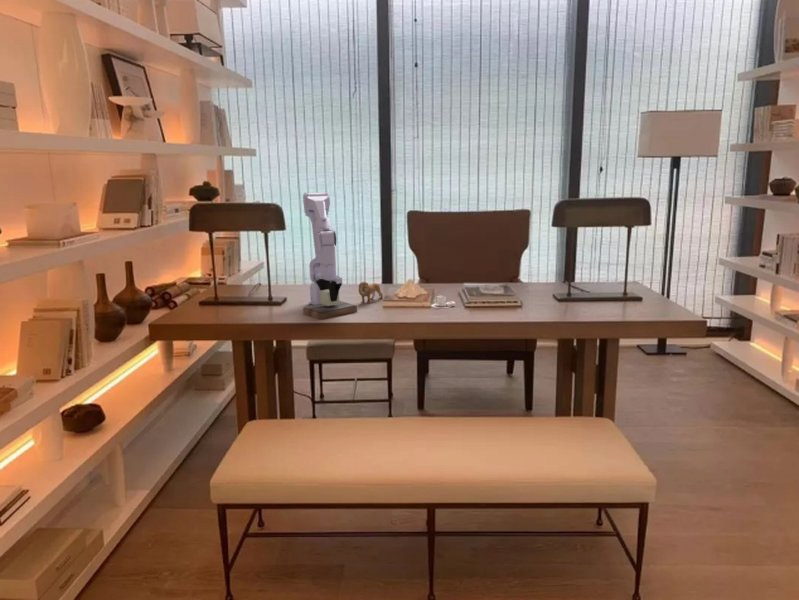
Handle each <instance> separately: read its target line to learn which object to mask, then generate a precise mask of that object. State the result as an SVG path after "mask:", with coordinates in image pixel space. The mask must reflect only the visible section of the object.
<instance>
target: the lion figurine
mask: <svg viewBox="0 0 799 600" xmlns="http://www.w3.org/2000/svg"><path fill="white" fill-rule="evenodd" d="M376 293H377V294H378V296H379V299H380V300H382V299H384V297H383V293H382V291H381V287H380V285H379V284H378V283H372V284H370V285H369V283H368V282H366V281H362V282H361V281H360V283H359V285H358V294H359V295H360V296H361V299H362V301H361V302H360V303H361V304H363V303H365V300H366V299H365V297H367V300H366V301H367V302H366V303H367V304H371V300H374V299H375V296H376ZM371 295H372V296H371Z"/></svg>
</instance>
